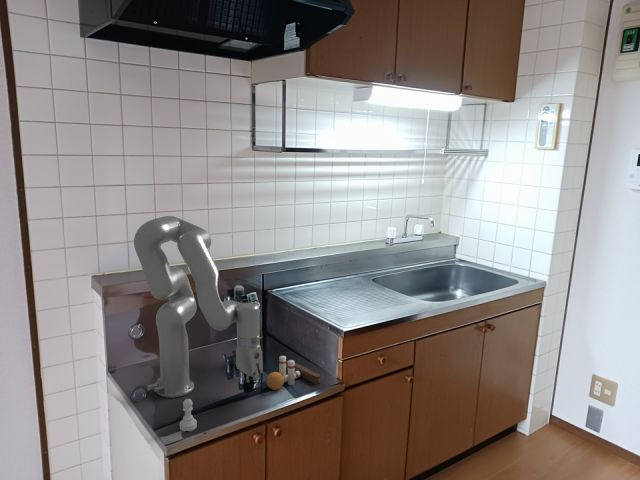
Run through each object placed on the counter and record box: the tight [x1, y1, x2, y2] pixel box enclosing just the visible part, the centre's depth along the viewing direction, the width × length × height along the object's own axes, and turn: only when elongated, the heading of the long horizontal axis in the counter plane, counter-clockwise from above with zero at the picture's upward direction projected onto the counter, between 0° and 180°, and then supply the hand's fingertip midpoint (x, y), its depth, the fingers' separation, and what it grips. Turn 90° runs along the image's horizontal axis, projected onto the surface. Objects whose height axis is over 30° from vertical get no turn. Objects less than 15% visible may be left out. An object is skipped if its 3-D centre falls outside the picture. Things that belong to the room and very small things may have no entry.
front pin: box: [283, 371, 301, 384], centre depth 179 cm, size 2×2×8 cm
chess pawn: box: [179, 398, 198, 432], centre depth 146 cm, size 5×5×9 cm
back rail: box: [286, 359, 322, 385], centre depth 183 cm, size 2×18×3 cm, turn 42°
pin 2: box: [287, 359, 296, 386], centre depth 176 cm, size 2×2×8 cm
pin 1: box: [278, 355, 287, 376], centre depth 179 cm, size 2×2×8 cm
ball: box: [266, 371, 285, 391], centre depth 172 cm, size 6×6×6 cm
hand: (248, 391), depth 167 cm, fingers closed
